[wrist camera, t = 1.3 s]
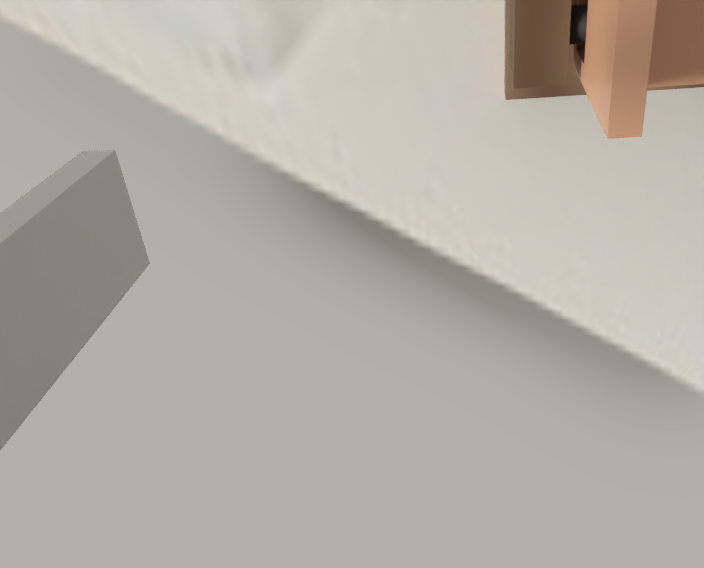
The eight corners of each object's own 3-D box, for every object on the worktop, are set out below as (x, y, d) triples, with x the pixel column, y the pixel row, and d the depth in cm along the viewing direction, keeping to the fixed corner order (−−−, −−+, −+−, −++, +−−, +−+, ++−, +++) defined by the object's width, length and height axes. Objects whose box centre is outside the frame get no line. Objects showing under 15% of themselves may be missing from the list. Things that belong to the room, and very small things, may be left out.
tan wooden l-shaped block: (703, -53, 25) (798, -16, 18) (687, 55, 28) (767, 129, 20) (578, -40, 26) (619, 0, 19) (572, 64, 28) (607, 138, 21)
